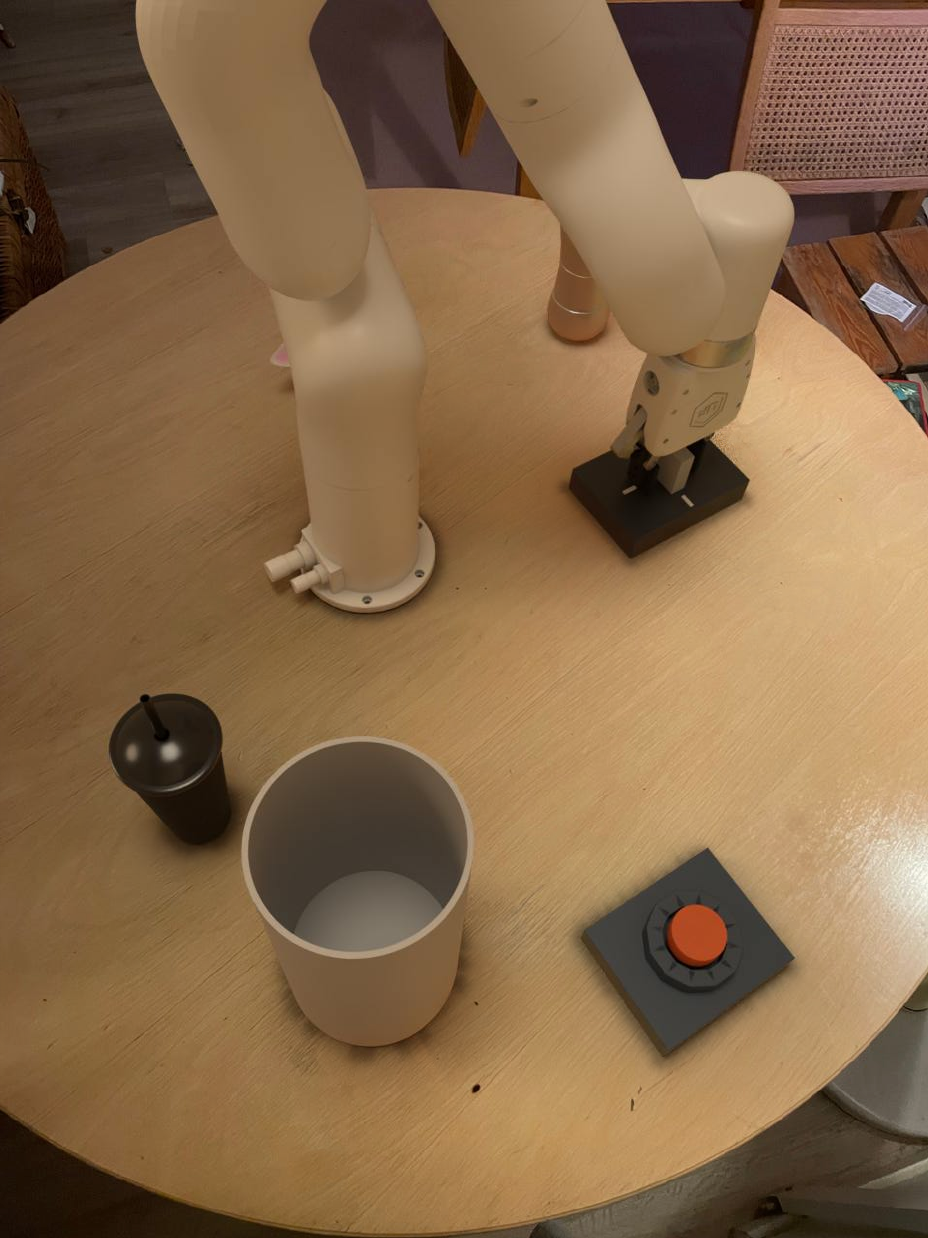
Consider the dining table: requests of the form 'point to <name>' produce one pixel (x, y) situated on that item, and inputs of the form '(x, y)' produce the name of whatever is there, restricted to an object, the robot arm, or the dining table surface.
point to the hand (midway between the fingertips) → (662, 471)
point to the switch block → (662, 984)
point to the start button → (696, 935)
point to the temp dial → (675, 469)
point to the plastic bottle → (575, 297)
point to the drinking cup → (174, 763)
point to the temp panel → (654, 498)
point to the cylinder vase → (362, 884)
